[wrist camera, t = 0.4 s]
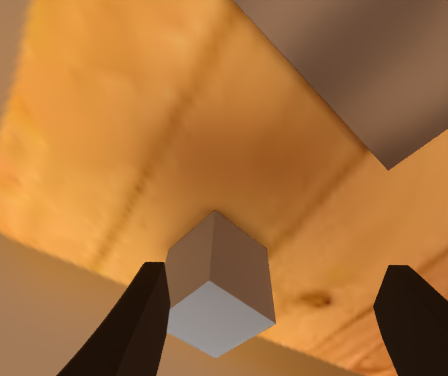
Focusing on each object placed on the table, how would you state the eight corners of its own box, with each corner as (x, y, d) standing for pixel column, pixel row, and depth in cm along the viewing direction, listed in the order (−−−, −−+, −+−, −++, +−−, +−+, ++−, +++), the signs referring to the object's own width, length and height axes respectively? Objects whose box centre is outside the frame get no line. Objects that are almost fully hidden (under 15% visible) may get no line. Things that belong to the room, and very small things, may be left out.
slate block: (266, 248, 23) (275, 323, 18) (219, 282, 25) (215, 358, 20) (214, 209, 21) (209, 280, 16) (168, 249, 23) (150, 323, 18)
